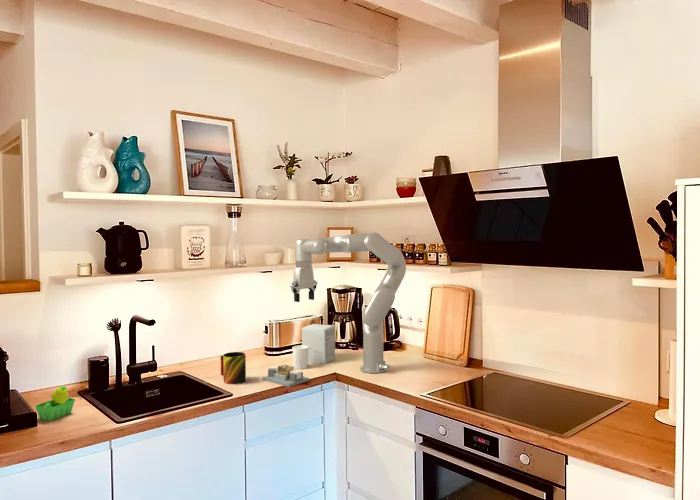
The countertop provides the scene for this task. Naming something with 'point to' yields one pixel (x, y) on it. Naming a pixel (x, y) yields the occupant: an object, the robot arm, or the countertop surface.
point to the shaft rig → (285, 377)
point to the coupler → (285, 370)
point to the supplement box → (319, 342)
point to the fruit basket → (56, 405)
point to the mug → (233, 367)
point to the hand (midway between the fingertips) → (304, 300)
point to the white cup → (300, 356)
